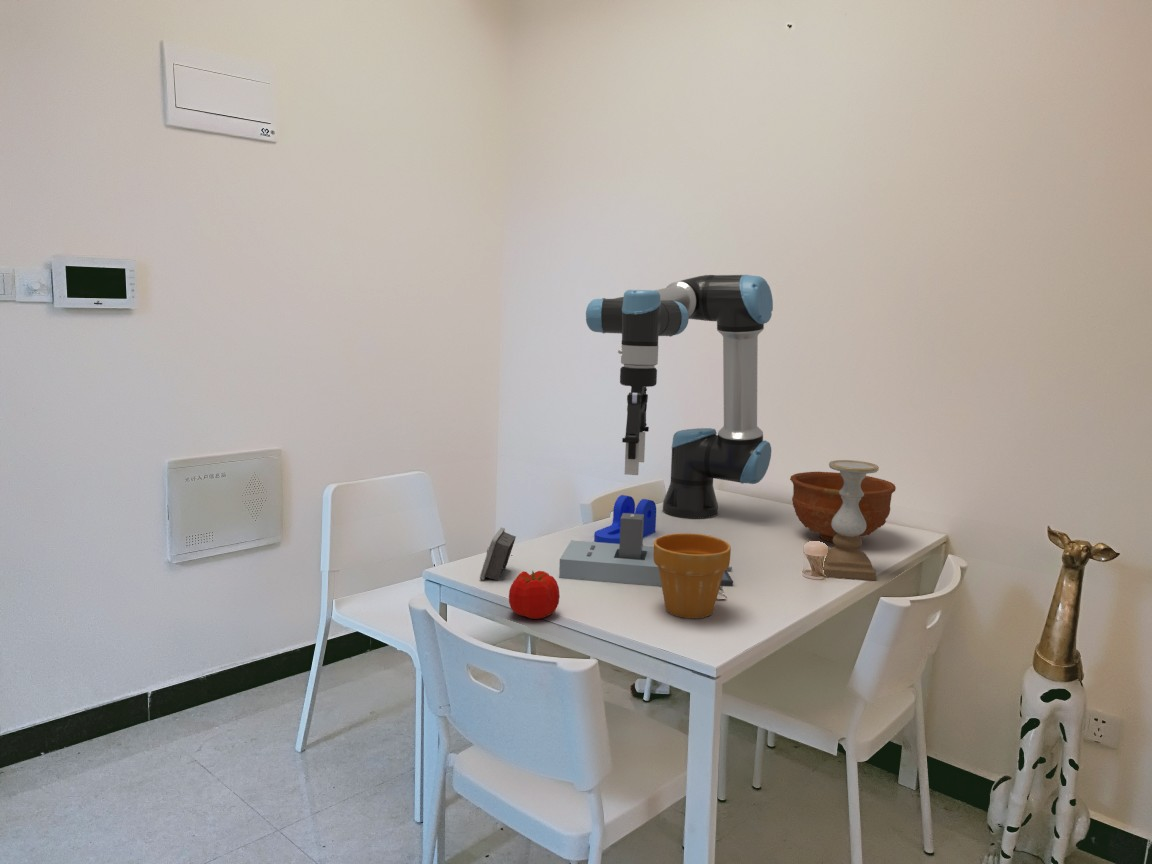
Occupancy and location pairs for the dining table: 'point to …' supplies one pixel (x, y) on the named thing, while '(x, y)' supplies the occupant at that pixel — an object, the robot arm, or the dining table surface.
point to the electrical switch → (497, 555)
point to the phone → (726, 579)
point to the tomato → (534, 594)
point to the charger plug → (631, 536)
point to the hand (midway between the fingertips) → (634, 468)
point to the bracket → (628, 506)
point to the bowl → (838, 501)
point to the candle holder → (849, 525)
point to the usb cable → (729, 569)
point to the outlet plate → (607, 564)
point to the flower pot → (691, 572)
